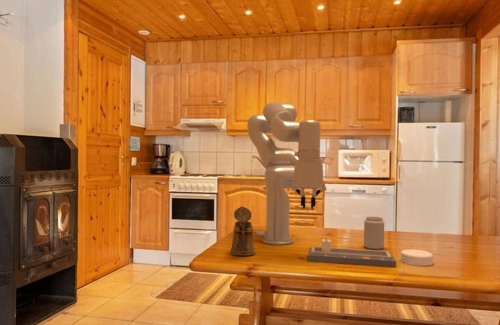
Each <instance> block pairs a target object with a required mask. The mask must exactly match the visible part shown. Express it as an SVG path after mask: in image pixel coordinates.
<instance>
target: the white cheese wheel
mask: <svg viewBox="0 0 500 325" xmlns="http://www.w3.org/2000/svg"><path fill="white" fill-rule="evenodd" d="M433 260H434V254H433V253H431V252H429V251H426V250H422V249H413V248H411V249H403V250H401V252H400V261H401V262H402V263H403V262H404V264H406V263H407V264H406V265H409V264H411V265H410V266H415V265H416V266H415V267H430V266H432V265H433V264H434V262H433Z"/></svg>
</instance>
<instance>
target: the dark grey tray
mask: <svg viewBox="0 0 500 325" xmlns="http://www.w3.org/2000/svg"><path fill="white" fill-rule="evenodd" d="M392 254H393V253H391V252H390V251H388V250H386V251H385V250H373V249H358V248H357V249H356V248H341V247H340V248H339V247H331V252H322V246H309V249H308V252H307V262H315V263H324V264H325V263H328V264H339V265H340V264H342V265H354V266H369V267H382V268H395V267H396V268H397V260H396V259H395V257H394V256H393V255H392Z"/></svg>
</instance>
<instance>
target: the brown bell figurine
mask: <svg viewBox="0 0 500 325" xmlns="http://www.w3.org/2000/svg"><path fill="white" fill-rule="evenodd" d="M233 216H234V219H235V220H236V221H235V223H234V226H233V236H232V244H231V248H230V252H229V253H230V255H232V256H234V255H235V257H251V255H252V256H254V255H255V254H256V249H255V244H254V235H253V232H254V226H253V224H252V222H251V221H250V220H251V219H252V211H251V210H250V209H248V208H247V207H244V206H240V207H238V208H236V209H235V210H234V212H233Z"/></svg>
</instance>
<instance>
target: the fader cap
mask: <svg viewBox="0 0 500 325" xmlns="http://www.w3.org/2000/svg"><path fill="white" fill-rule="evenodd" d="M331 245H332V240H331V239H328V238H327V237H326V238H322V239H321V247H322V252H331V248H332V246H331Z"/></svg>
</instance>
